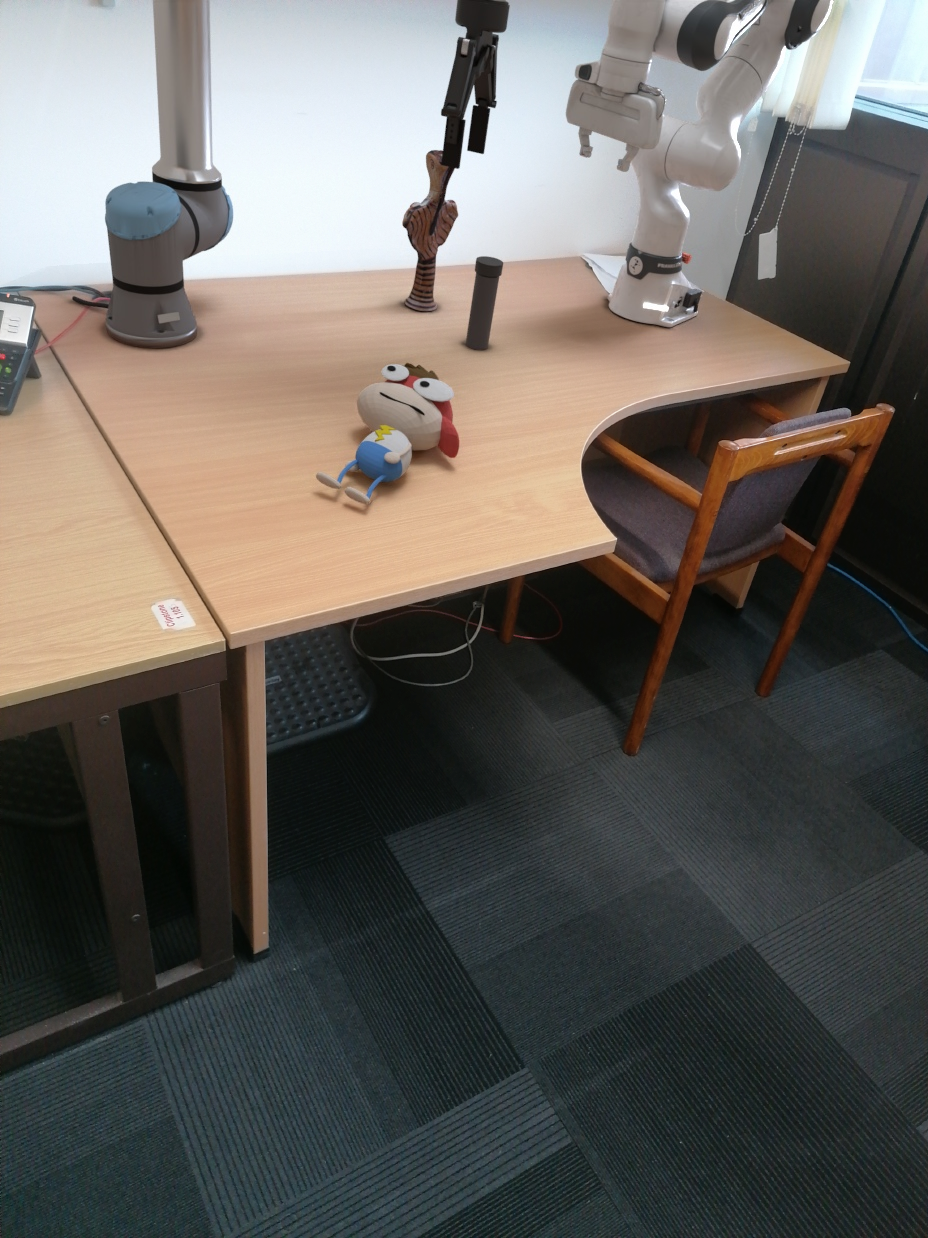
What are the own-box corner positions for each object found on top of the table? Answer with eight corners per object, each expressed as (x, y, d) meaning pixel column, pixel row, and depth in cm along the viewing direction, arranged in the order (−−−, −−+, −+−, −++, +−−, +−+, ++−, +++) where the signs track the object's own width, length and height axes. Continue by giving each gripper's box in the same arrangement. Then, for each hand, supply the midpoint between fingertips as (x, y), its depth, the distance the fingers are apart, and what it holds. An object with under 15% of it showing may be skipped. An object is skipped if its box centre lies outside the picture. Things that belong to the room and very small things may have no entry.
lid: (501, 278, 164) (503, 267, 163) (474, 274, 164) (476, 262, 162) (501, 269, 168) (503, 258, 167) (474, 265, 168) (476, 254, 166)
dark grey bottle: (487, 351, 173) (501, 268, 163) (465, 348, 173) (477, 265, 163) (487, 342, 177) (500, 261, 167) (465, 339, 176) (477, 257, 166)
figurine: (429, 292, 193) (447, 140, 175) (457, 304, 190) (478, 150, 172) (386, 306, 183) (400, 146, 165) (414, 318, 180) (432, 157, 162)
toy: (278, 428, 121) (396, 343, 140) (277, 485, 128) (389, 398, 148) (391, 486, 117) (497, 391, 136) (384, 542, 124) (485, 444, 143)
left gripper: (485, 3, 116) (463, 178, 129) (530, -3, 135) (506, 151, 148) (431, -8, 117) (414, 167, 130) (483, -12, 136) (463, 141, 149)
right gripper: (679, 90, 151) (657, 178, 160) (592, 65, 162) (575, 148, 170) (656, 90, 147) (634, 179, 156) (569, 63, 158) (553, 149, 167)
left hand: (463, 159), depth 139 cm, fingers open, 13 cm apart
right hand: (603, 163), depth 163 cm, fingers open, 8 cm apart
